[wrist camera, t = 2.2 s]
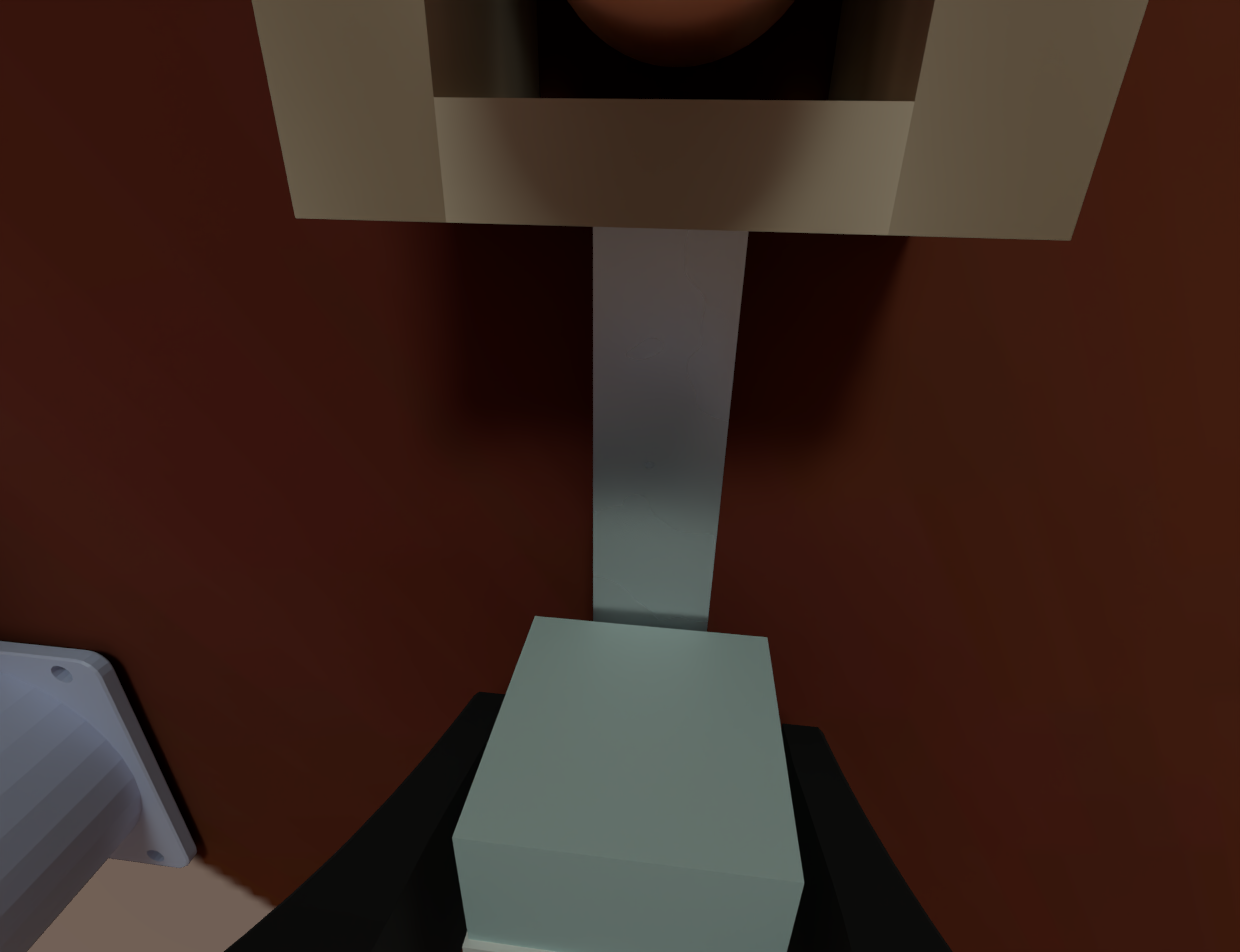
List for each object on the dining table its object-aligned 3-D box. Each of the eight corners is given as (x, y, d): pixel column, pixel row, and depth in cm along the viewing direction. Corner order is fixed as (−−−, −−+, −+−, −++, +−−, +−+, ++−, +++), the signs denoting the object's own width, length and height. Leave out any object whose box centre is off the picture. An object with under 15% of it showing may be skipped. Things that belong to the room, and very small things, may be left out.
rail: (570, 781, 15) (540, 924, 12) (556, 206, 9) (492, 218, 6) (717, 799, 15) (722, 949, 12) (797, 213, 9) (845, 227, 6)
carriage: (542, 803, 13) (480, 1053, 9) (532, 615, 11) (444, 845, 7) (738, 828, 12) (756, 1099, 9) (770, 637, 10) (810, 893, 7)
